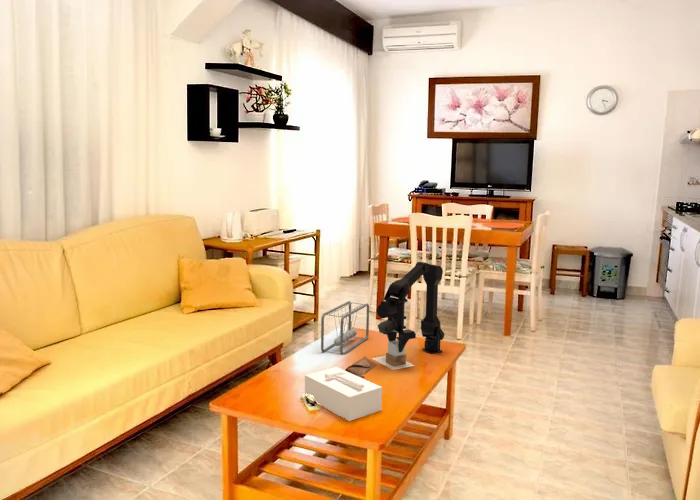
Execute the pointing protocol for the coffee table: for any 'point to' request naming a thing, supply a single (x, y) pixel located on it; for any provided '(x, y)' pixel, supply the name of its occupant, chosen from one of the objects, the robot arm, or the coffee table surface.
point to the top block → (395, 348)
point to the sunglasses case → (361, 367)
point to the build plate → (383, 361)
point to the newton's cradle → (350, 333)
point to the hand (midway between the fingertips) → (396, 350)
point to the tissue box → (344, 393)
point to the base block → (395, 360)
